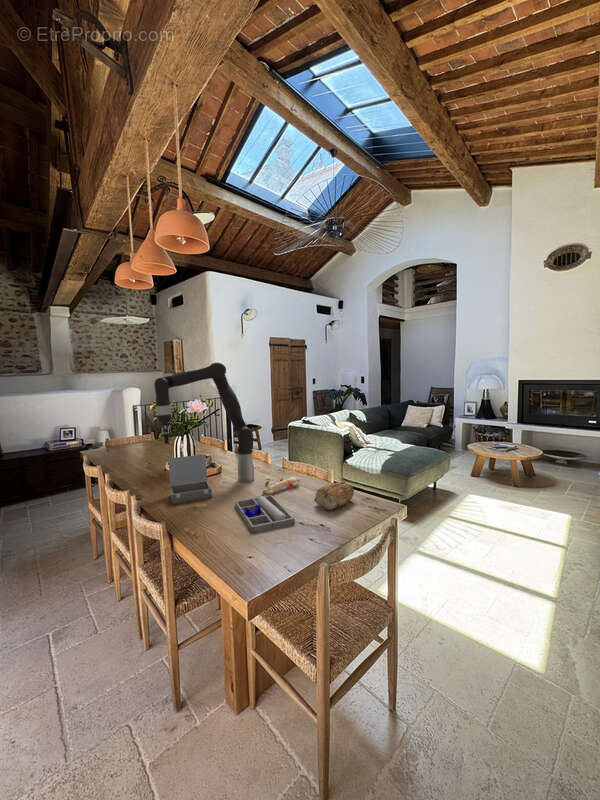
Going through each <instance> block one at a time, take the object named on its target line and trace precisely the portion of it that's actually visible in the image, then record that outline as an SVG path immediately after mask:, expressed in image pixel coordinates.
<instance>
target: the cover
mask: <svg viewBox="0 0 600 800" xmlns="http://www.w3.org/2000/svg"><path fill="white" fill-rule="evenodd" d="M167 460H168V473H169V485H170V486H176V485H183V484H190V483H197V482H204V481H208V472H207V470H208V469H207V459H206V454H195V455H188V456H179V457H171V458H168V459H167ZM170 486H169V487H170Z"/></svg>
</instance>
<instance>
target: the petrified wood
mask: <svg viewBox="0 0 600 800" xmlns="http://www.w3.org/2000/svg"><path fill="white" fill-rule="evenodd" d="M354 493H355V491H354V487H353V486H352V485H351V484H350V483H349V484H348V482H346V480H341V481H339V482H334V483H331V484H329V485H325V486H323V487H320V488H318V489H317V490H316V493H315V498H314V500H313V502H315V503H316V504H317V505H318V506H319V507H323V509H324V510H326V511H328V510H329V511H331V510H335V509H337V508H336V507H338V508H339V507H342V506H341V505H343V506H345V505H346V504H348V502H349V501H351V500H352V498H353V497H354ZM347 501H348V502H347ZM344 504H345V505H344ZM334 508H335V509H334Z"/></svg>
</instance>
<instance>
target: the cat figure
mask: <svg viewBox="0 0 600 800" xmlns="http://www.w3.org/2000/svg"><path fill="white" fill-rule="evenodd" d="M300 482H301V481H300V478H298V477H296V476H291V477H289V478H287V479H284V478H281V479H280V480H279V482H276V483H274V484H273V485H271V486H270V485H269V484H270V482H269V481H268V480H267V481H265V483H264V487H265V488H266V489H263V490H262V491H261V492H262V493H261V494H263V495H264V494H265V495H266V496H270V495H273V494H275V492H277V491H279V490H280V489H281V488H284V487H285V488H286V487H289V488H288V490H289V489H290V490H292V488H293V487H295V486H296V485H297V486H299V484H300ZM297 486H296V487H297Z"/></svg>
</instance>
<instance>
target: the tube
mask: <svg viewBox="0 0 600 800" xmlns="http://www.w3.org/2000/svg"><path fill="white" fill-rule="evenodd" d="M264 496H265V495H261V496H260V495H259V496H258V497H256V498H257V500H256V502H257V503H258V504H259V505H261V508H262V509H263V510H264V511H265V513H266V514H267V515H268V516H269V518H270V519H271V520H272V521H273V522H275V521H280V520H285V519H287V517H286V515H285V514H284V513H282V512H281V511H280V510H279V509H278V508H277V506H276V505H275V504H274V503H273V502H272V501H268V500H267V499H266V497H264Z"/></svg>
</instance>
